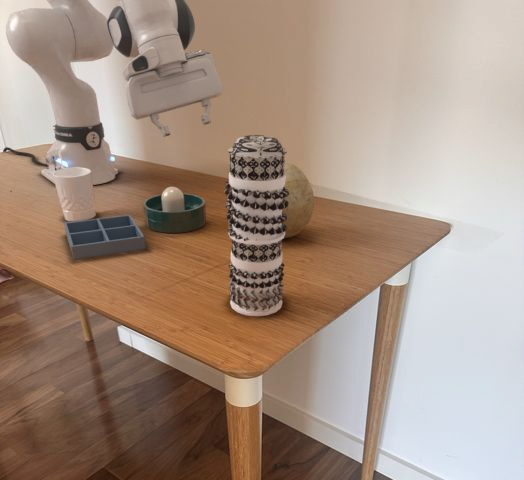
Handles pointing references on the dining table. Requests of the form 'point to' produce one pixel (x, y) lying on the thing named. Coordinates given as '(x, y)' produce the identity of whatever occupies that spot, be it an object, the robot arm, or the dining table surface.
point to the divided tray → (104, 236)
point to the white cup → (75, 193)
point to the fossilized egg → (297, 200)
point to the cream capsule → (172, 200)
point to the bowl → (175, 215)
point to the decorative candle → (256, 224)
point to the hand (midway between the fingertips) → (187, 130)
